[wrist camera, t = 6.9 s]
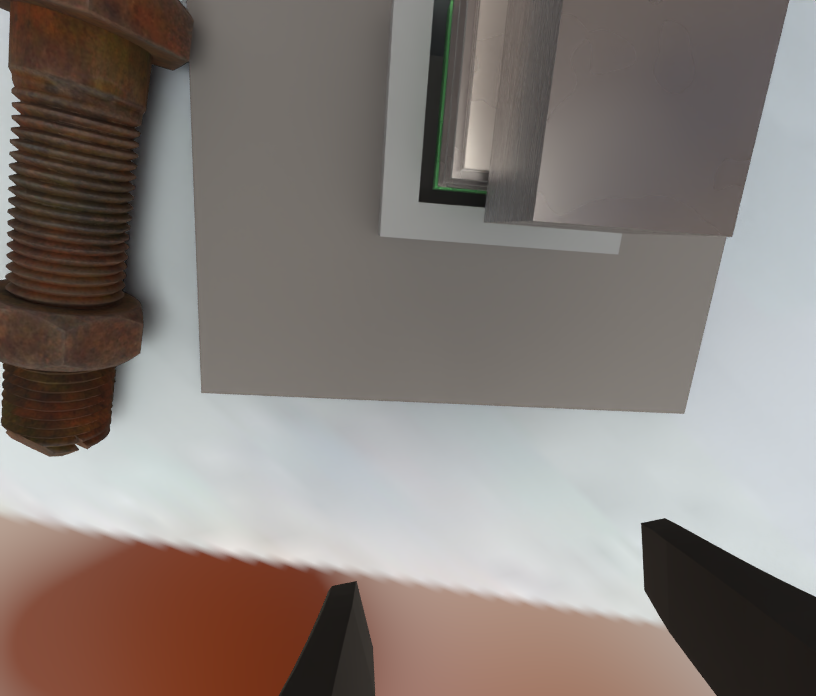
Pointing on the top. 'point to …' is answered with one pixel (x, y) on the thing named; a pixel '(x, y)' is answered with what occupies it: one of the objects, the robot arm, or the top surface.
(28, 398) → the bolt
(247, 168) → the jack base
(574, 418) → the top surface
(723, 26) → the tall silver metal block
